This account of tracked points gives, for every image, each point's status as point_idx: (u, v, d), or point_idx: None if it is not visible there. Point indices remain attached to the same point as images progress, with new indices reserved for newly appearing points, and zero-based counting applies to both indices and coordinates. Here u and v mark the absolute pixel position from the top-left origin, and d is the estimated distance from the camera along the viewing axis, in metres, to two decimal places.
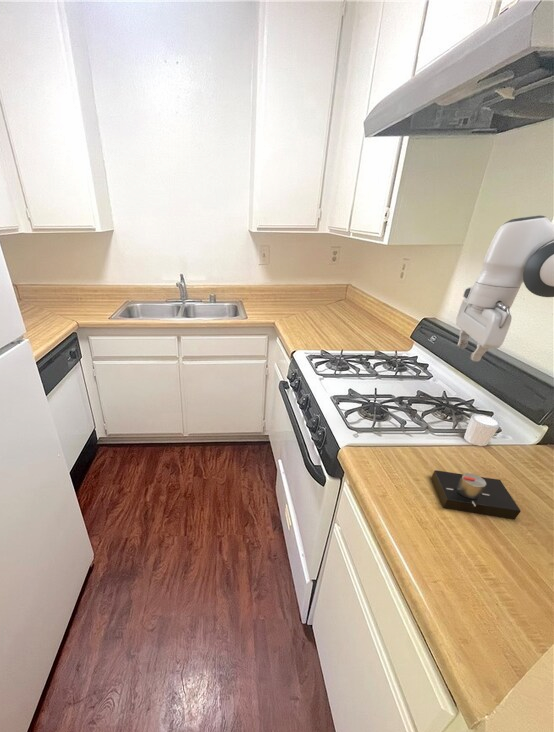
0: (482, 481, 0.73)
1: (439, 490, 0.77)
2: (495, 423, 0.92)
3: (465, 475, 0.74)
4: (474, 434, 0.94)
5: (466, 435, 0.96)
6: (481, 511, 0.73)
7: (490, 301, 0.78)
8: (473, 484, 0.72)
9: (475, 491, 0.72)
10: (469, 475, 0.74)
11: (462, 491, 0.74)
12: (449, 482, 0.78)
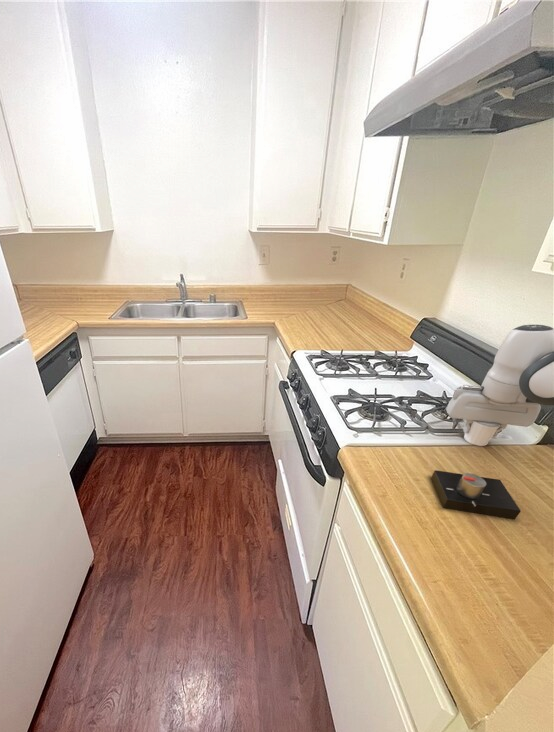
0: (482, 481, 0.73)
1: (439, 490, 0.77)
2: (495, 423, 0.92)
3: (465, 475, 0.74)
4: (474, 434, 0.94)
5: (466, 435, 0.97)
6: (481, 511, 0.73)
7: (481, 385, 0.90)
8: (473, 484, 0.72)
9: (475, 491, 0.72)
10: (469, 475, 0.74)
11: (462, 491, 0.74)
12: (449, 482, 0.78)
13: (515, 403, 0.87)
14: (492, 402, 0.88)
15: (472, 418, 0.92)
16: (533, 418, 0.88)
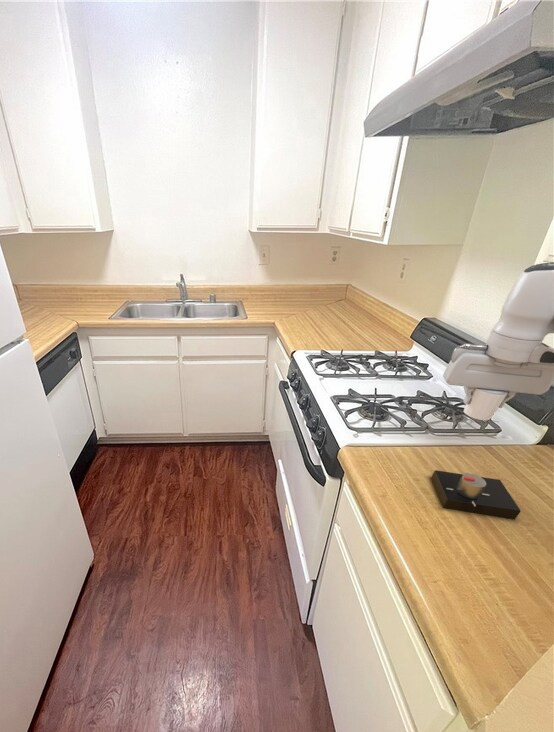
0: (482, 481, 0.73)
1: (439, 490, 0.77)
2: (501, 391, 0.77)
3: (465, 475, 0.74)
4: (476, 404, 0.79)
5: (467, 407, 0.81)
6: (481, 511, 0.73)
7: None
8: (473, 484, 0.72)
9: (475, 491, 0.72)
10: (469, 475, 0.74)
11: (462, 491, 0.74)
12: (449, 482, 0.78)
13: (526, 364, 0.72)
14: (498, 363, 0.73)
15: (474, 385, 0.77)
16: (548, 383, 0.73)
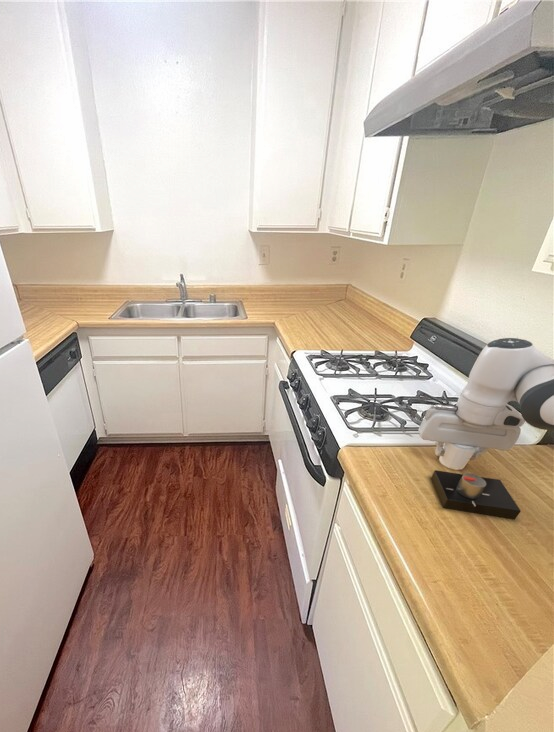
0: (482, 481, 0.73)
1: (439, 490, 0.77)
2: None
3: (465, 475, 0.74)
4: (449, 457, 0.85)
5: (441, 457, 0.88)
6: (481, 511, 0.73)
7: (456, 404, 0.81)
8: (473, 484, 0.72)
9: (475, 491, 0.72)
10: (469, 475, 0.74)
11: (462, 491, 0.74)
12: (449, 482, 0.78)
13: (492, 425, 0.78)
14: (467, 424, 0.79)
15: (446, 440, 0.83)
16: (513, 442, 0.80)
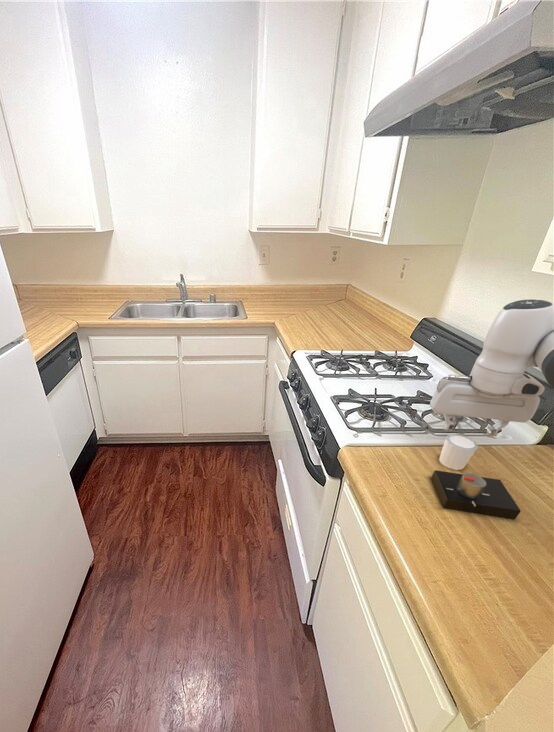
0: (482, 481, 0.73)
1: (439, 490, 0.77)
2: (472, 445, 0.83)
3: (465, 475, 0.74)
4: (449, 457, 0.85)
5: (441, 457, 0.88)
6: (481, 511, 0.73)
7: (470, 374, 0.77)
8: (473, 484, 0.72)
9: (475, 491, 0.72)
10: (469, 475, 0.74)
11: (462, 491, 0.74)
12: (449, 482, 0.78)
13: (509, 395, 0.74)
14: (482, 394, 0.75)
15: (460, 413, 0.79)
16: (531, 412, 0.75)
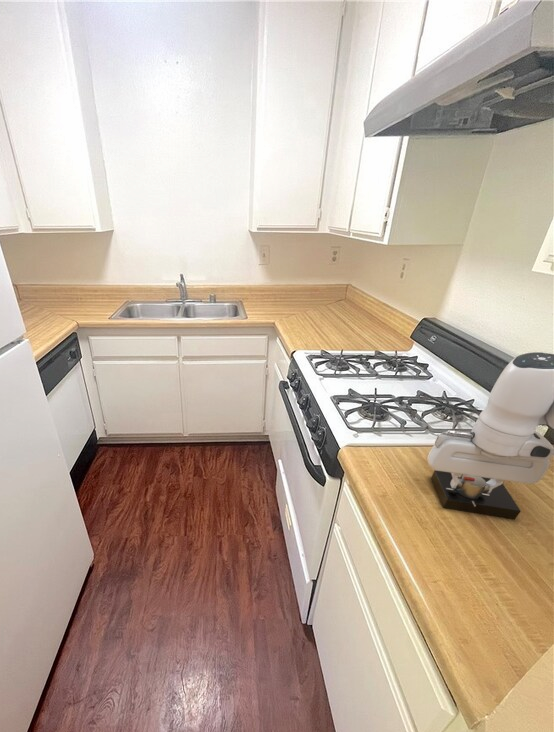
0: (482, 481, 0.73)
1: (439, 490, 0.77)
2: None
3: (465, 475, 0.74)
4: None
5: None
6: (481, 511, 0.73)
7: (472, 429, 0.69)
8: (473, 484, 0.72)
9: (475, 491, 0.72)
10: (469, 475, 0.74)
11: (462, 491, 0.74)
12: (449, 482, 0.78)
13: (516, 456, 0.66)
14: (486, 454, 0.67)
15: (460, 472, 0.71)
16: (540, 475, 0.67)
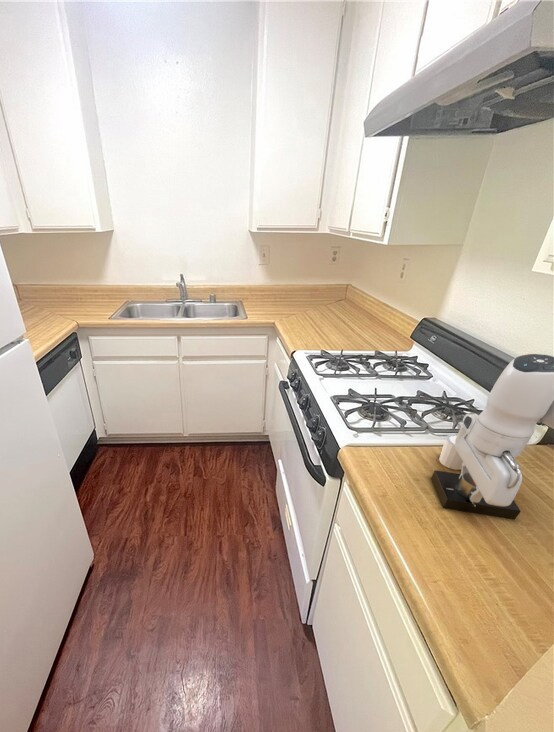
0: None
1: (439, 490, 0.77)
2: None
3: (470, 482, 0.72)
4: (449, 457, 0.85)
5: (441, 457, 0.88)
6: (481, 511, 0.73)
7: (496, 449, 0.64)
8: None
9: None
10: (467, 480, 0.73)
11: None
12: (449, 482, 0.78)
13: None
14: None
15: None
16: None
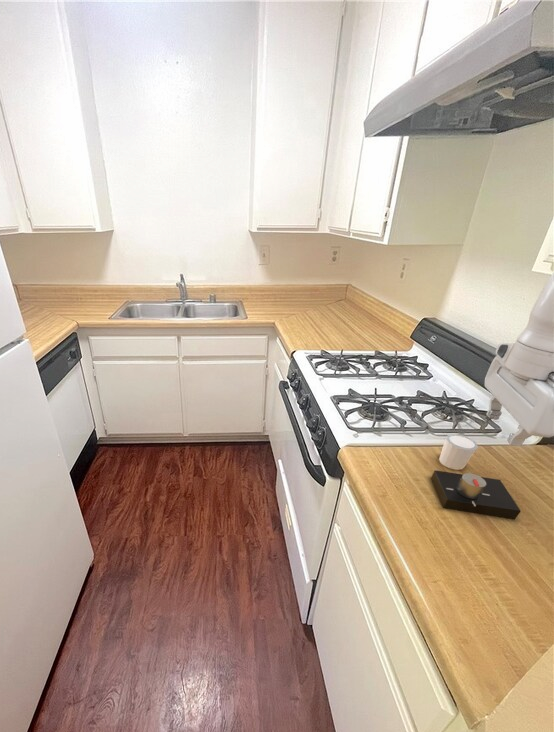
0: (472, 475, 0.74)
1: (439, 490, 0.77)
2: (472, 445, 0.83)
3: (470, 482, 0.72)
4: (449, 457, 0.85)
5: (441, 457, 0.88)
6: (481, 511, 0.73)
7: (540, 371, 0.55)
8: (484, 484, 0.72)
9: None
10: (467, 480, 0.73)
11: (478, 495, 0.73)
12: (449, 482, 0.78)
13: None
14: None
15: None
16: None
